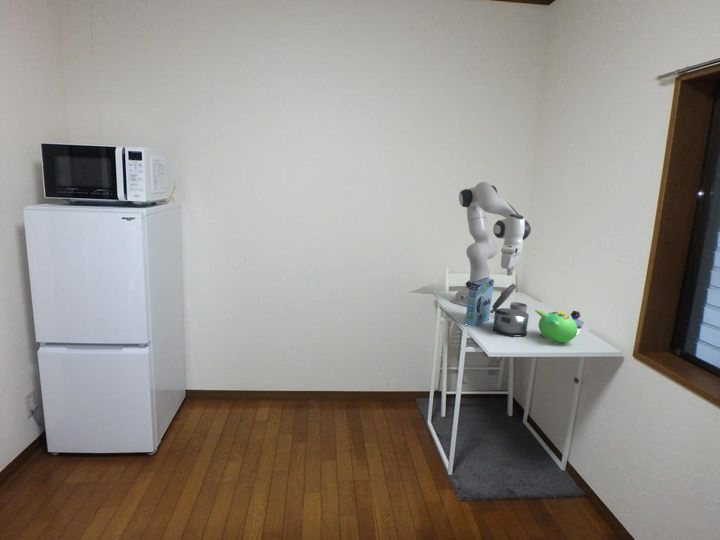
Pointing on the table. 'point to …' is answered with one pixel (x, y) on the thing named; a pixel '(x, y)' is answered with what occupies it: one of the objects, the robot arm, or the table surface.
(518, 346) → the table surface
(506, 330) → the cooker pot
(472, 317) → the gum box
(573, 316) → the potion bottle
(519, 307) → the cup
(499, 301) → the lid
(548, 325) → the toy bird
